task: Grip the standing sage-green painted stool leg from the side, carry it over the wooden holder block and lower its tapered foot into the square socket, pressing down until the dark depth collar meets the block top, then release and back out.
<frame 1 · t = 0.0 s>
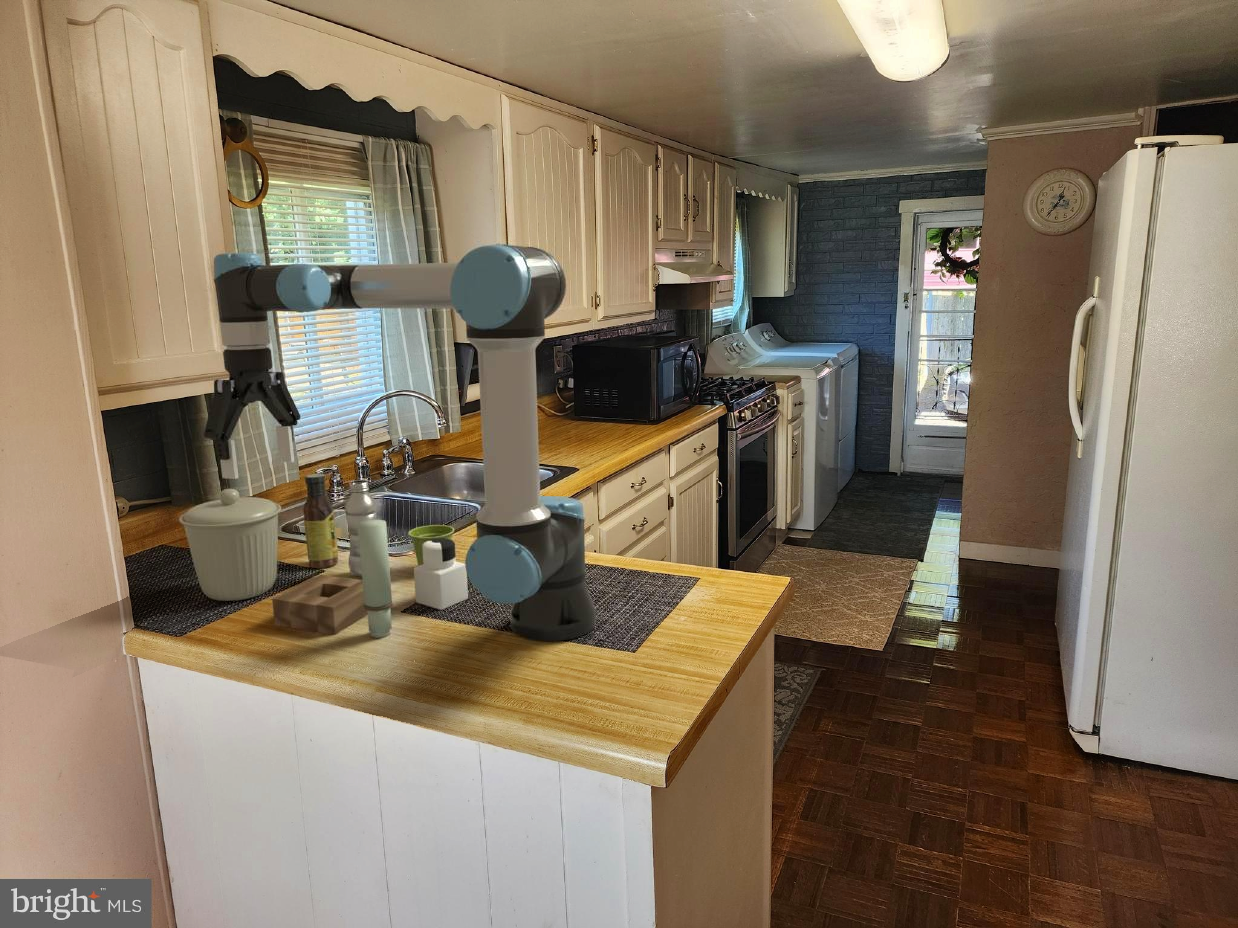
hand: (259, 469, 148), 28 cm above the worktop, tool pointing down, fingers open, 13 cm apart
medicine bottle: (442, 601, 162), on the worktop
stool leg: (380, 634, 147), on the worktop
canister: (240, 593, 168), on the worktop
plant pot: (433, 570, 179), on the worktop
plastic bottle: (366, 575, 177), on the worktop
wooden holder block: (328, 616, 155), on the worktop
sauce bottle: (323, 565, 184), on the worktop
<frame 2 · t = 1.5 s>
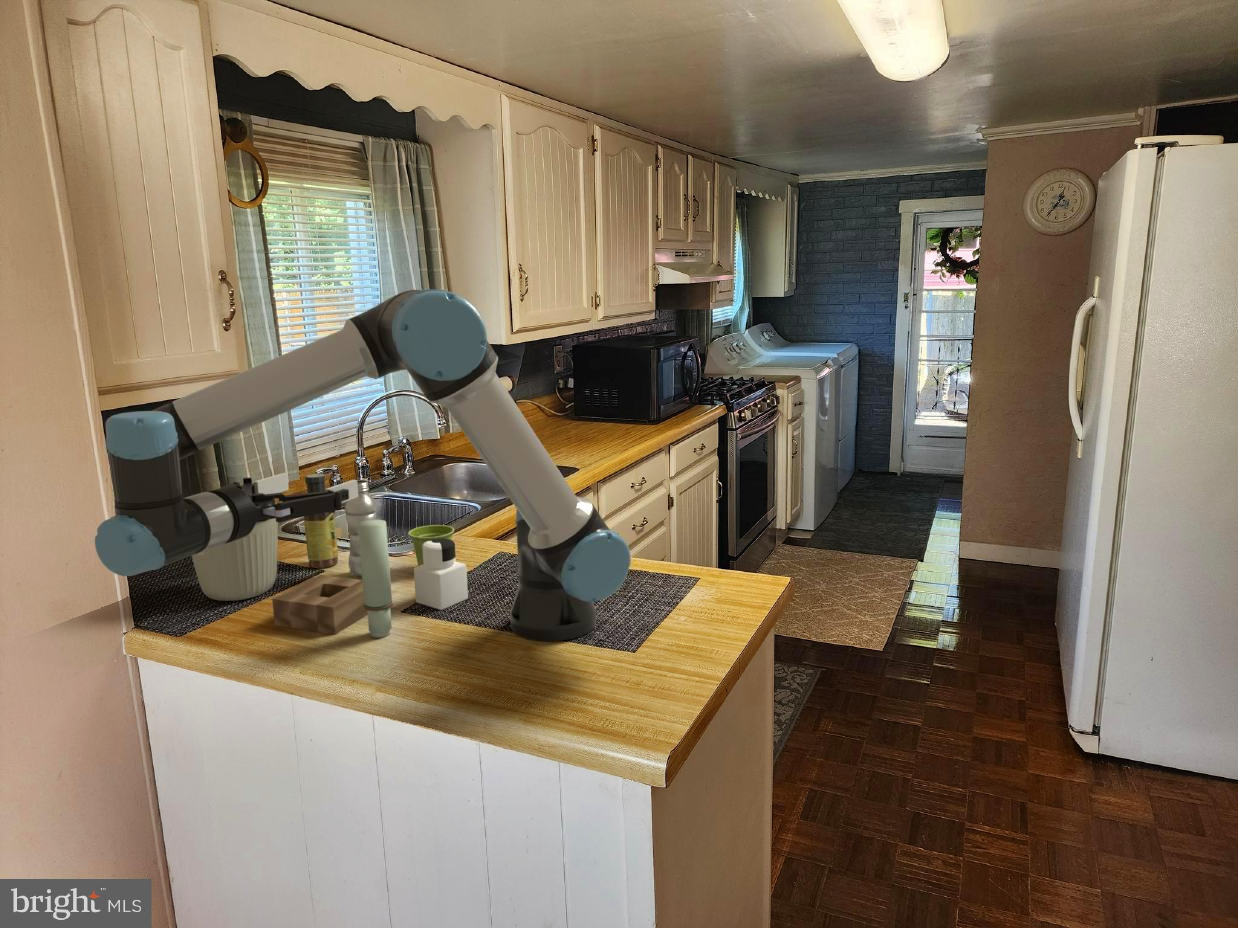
hand: (320, 484, 135), 28 cm above the worktop, tool horizontal, fingers open, 13 cm apart
nothing on the worktop moved.
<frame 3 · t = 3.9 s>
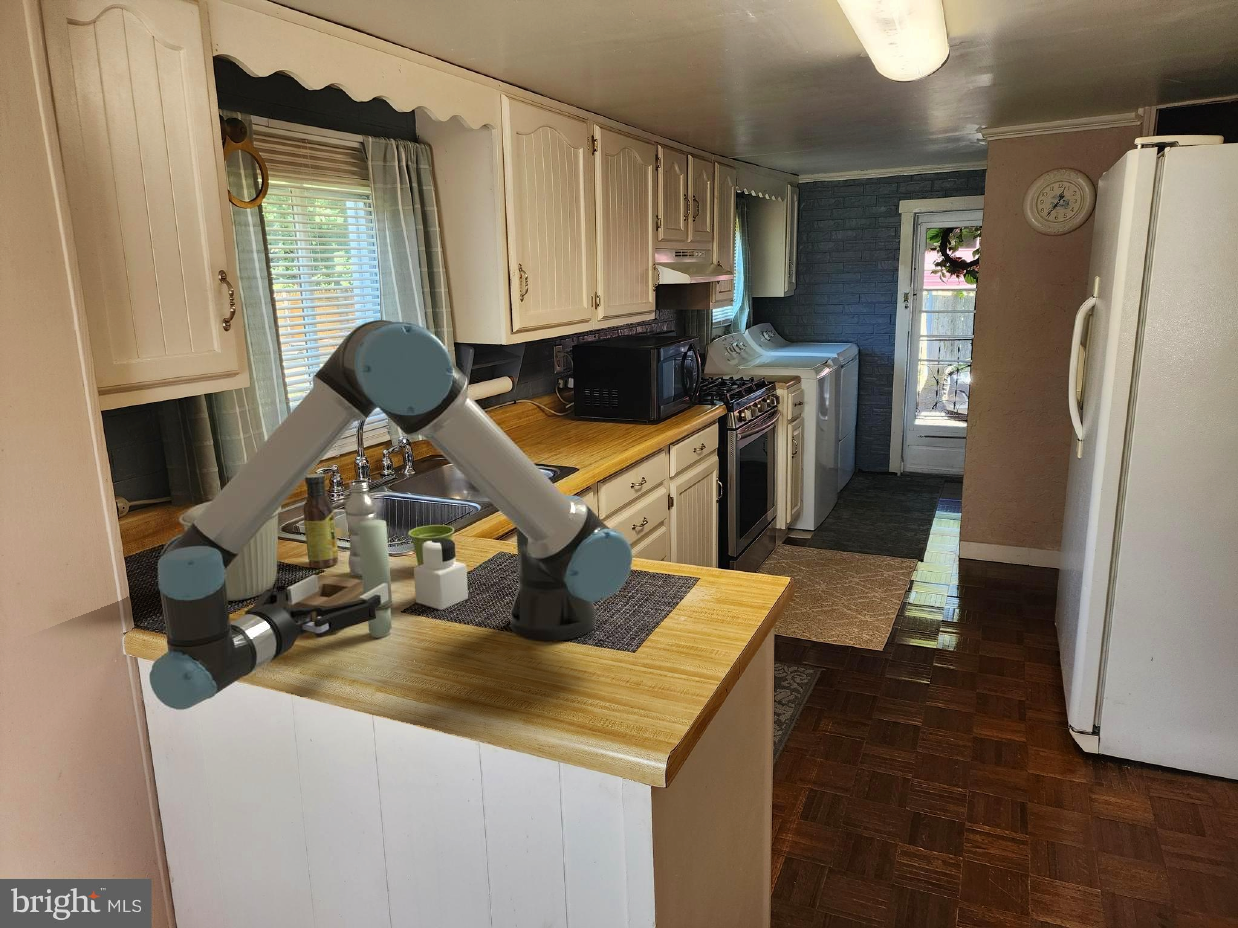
hand: (350, 586, 139), 11 cm above the worktop, tool horizontal, fingers open, 13 cm apart
nothing on the worktop moved.
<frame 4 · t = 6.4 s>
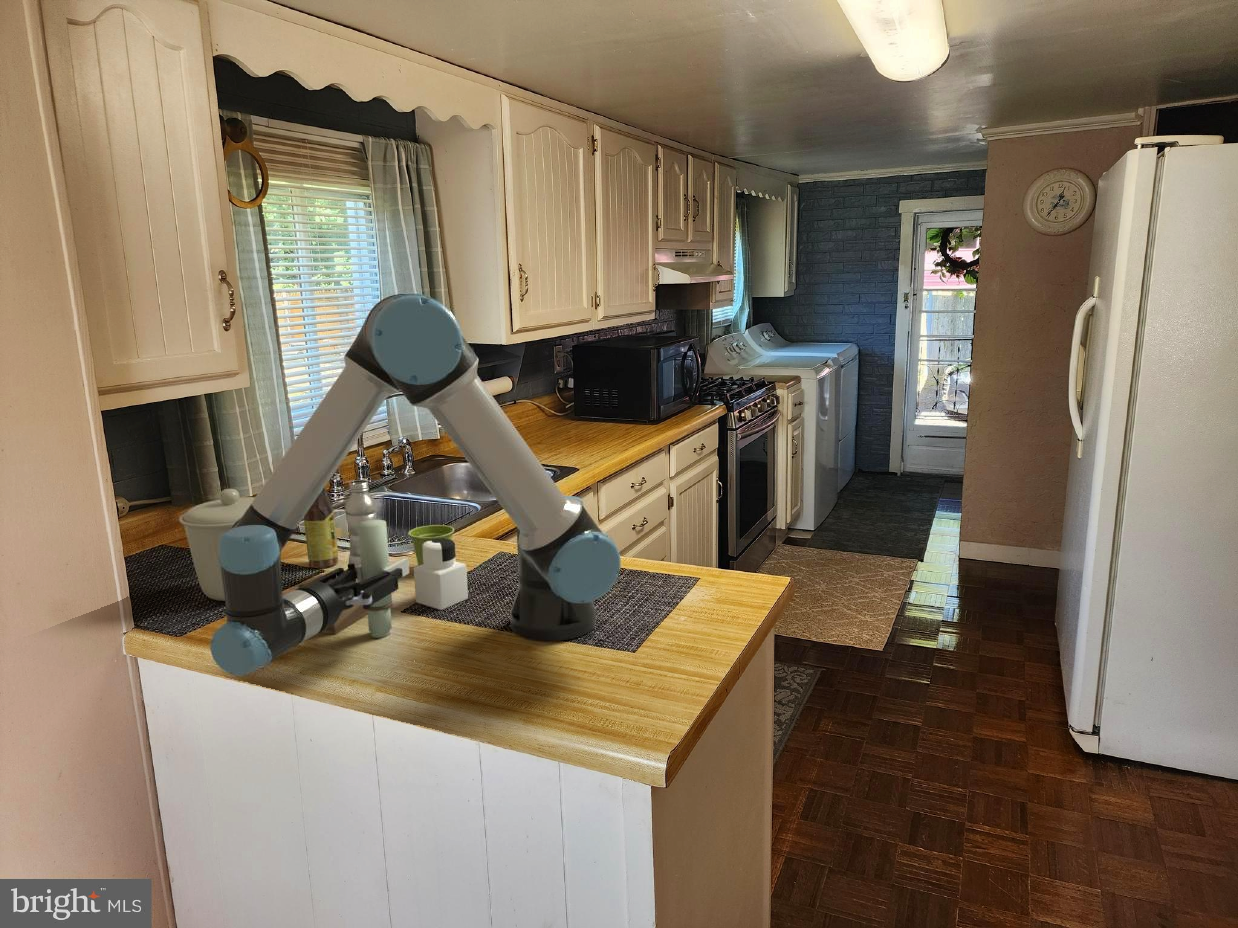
hand: (393, 564, 149), 11 cm above the worktop, tool horizontal, fingers closed on stool leg, 4 cm apart
stool leg: (380, 634, 147), on the worktop, touching gripper
everything else where it was.
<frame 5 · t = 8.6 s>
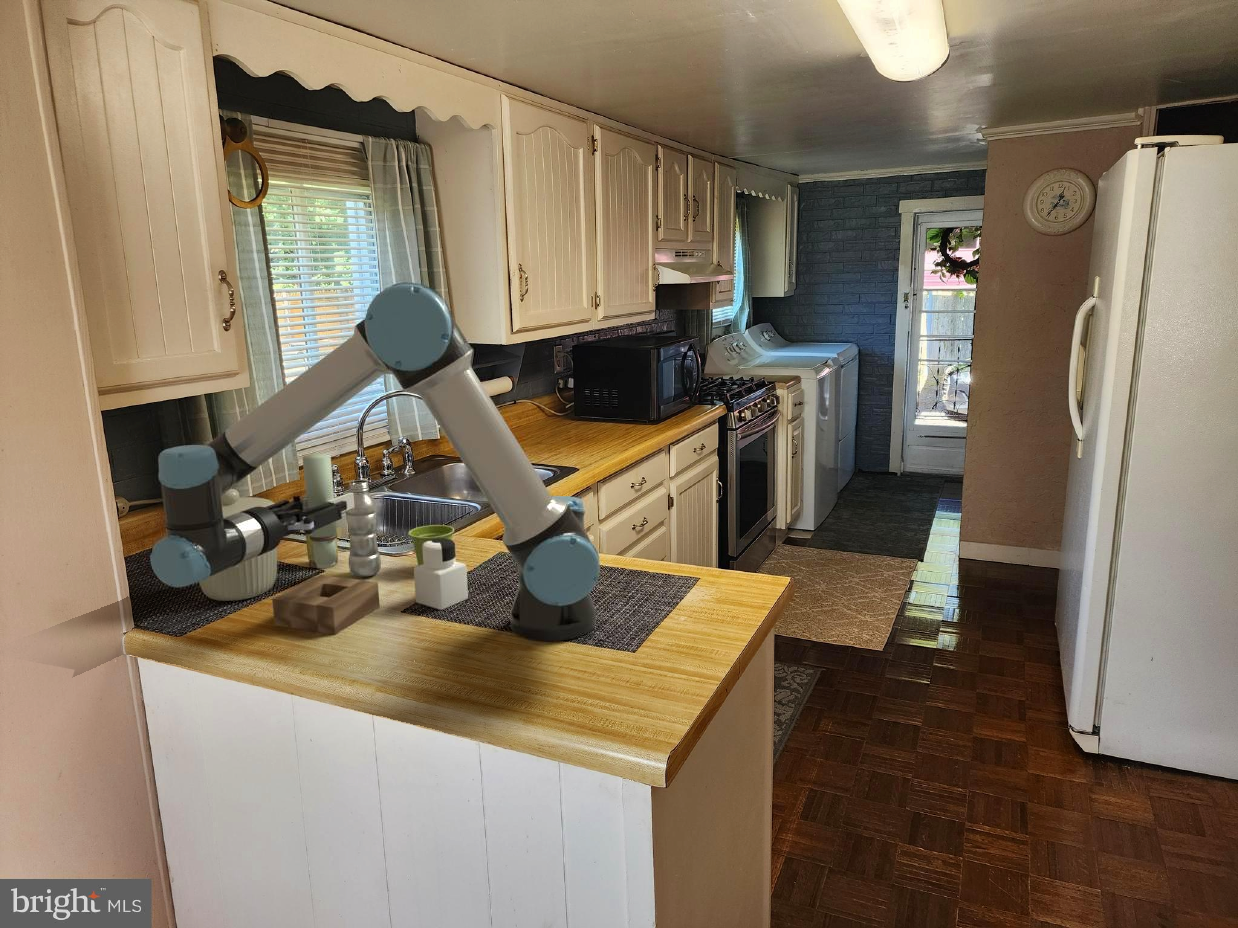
hand: (339, 498, 154), 21 cm above the worktop, tool horizontal, fingers closed on stool leg, 4 cm apart
stool leg: (326, 565, 152), point 10 cm above the worktop, touching gripper
everything else where it was.
when the fingers open (12 cm above the worktop, at t = 11.1 s): stool leg stays where it is, resting on wooden holder block.
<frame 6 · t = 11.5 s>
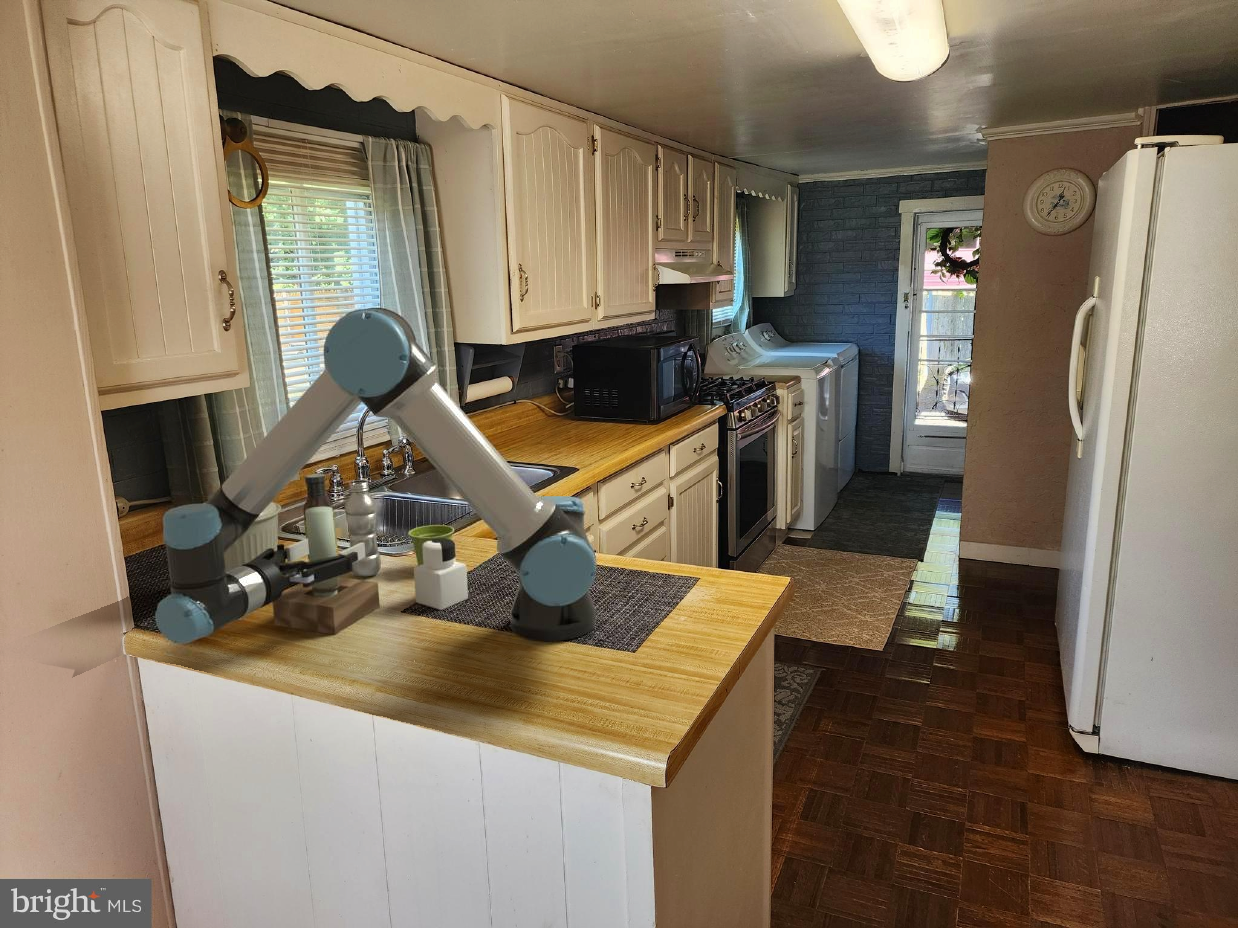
hand: (337, 546, 156), 12 cm above the worktop, tool horizontal, fingers open, 10 cm apart
stool leg: (328, 615, 155), resting on wooden holder block
everything else where it was.
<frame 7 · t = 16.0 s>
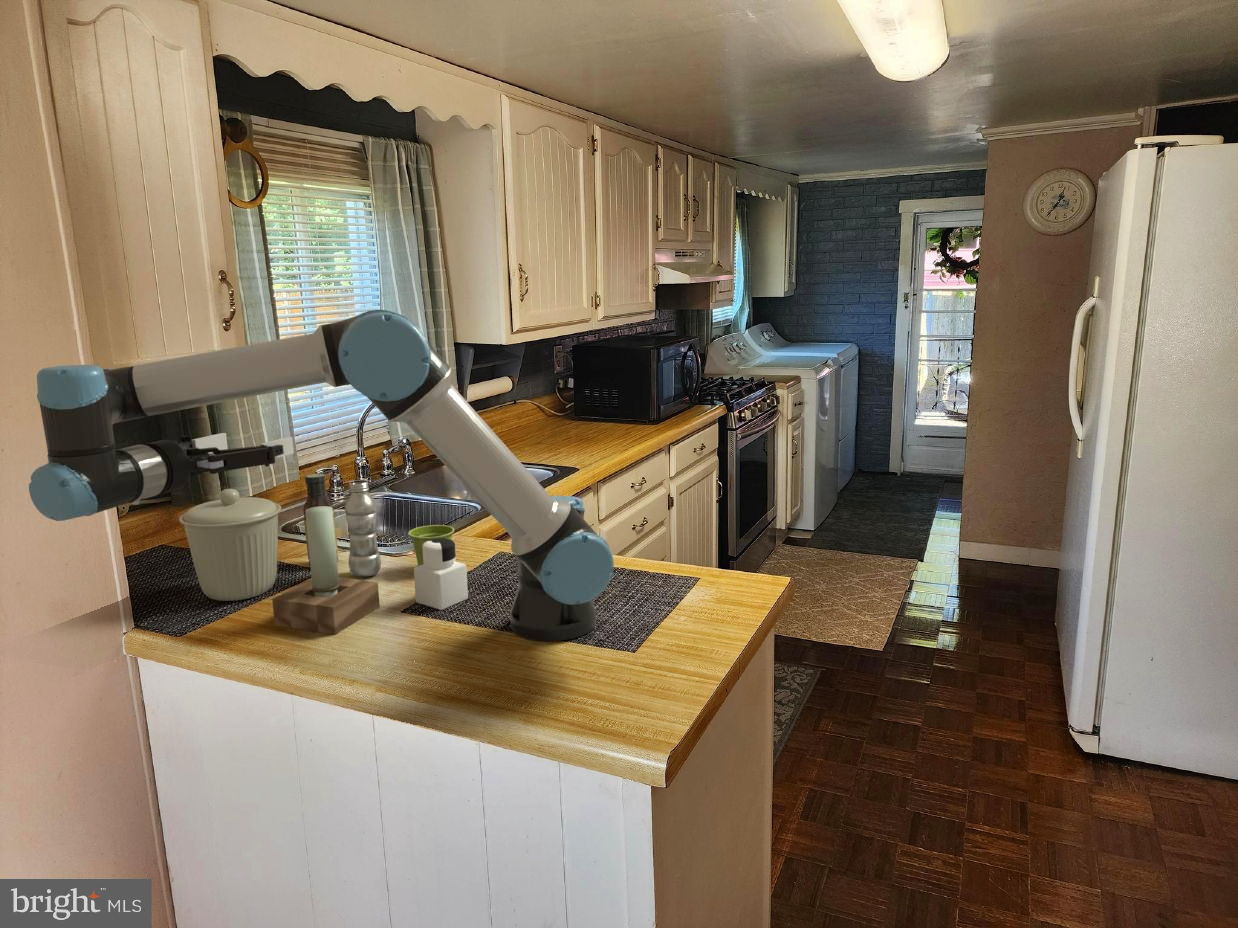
hand: (257, 442, 140), 34 cm above the worktop, tool horizontal, fingers open, 13 cm apart
nothing on the worktop moved.
at the end: stool leg 0.1 cm off-centre on the wooden holder block, point 0.2 cm above the wooden holder block's base; stool leg tilted 1°; the gripper is holding nothing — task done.
